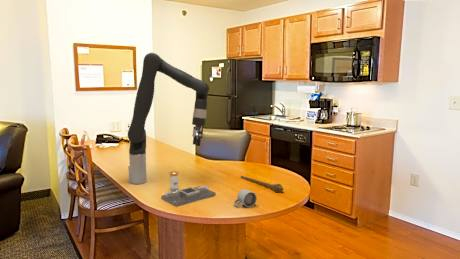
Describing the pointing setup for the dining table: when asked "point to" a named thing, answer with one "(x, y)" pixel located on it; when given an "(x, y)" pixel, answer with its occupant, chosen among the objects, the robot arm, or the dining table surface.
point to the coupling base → (188, 195)
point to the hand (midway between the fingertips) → (196, 145)
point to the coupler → (174, 181)
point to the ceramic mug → (246, 198)
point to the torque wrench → (266, 184)
